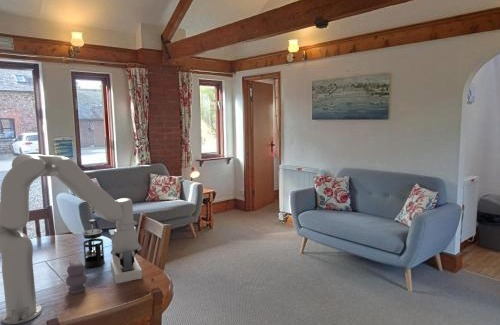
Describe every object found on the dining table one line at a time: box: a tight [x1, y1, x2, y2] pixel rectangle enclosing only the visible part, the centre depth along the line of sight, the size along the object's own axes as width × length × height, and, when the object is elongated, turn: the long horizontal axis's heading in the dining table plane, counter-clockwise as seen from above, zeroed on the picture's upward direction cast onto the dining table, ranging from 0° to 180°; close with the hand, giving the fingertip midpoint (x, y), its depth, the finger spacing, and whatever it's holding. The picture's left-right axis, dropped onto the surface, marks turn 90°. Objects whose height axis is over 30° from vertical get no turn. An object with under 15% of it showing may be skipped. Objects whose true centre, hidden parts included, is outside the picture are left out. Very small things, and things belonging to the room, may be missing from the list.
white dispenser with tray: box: [108, 228, 143, 284], centre depth 170 cm, size 19×11×19 cm, turn 27°
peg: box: [123, 251, 132, 272], centre depth 165 cm, size 3×3×12 cm
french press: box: [82, 218, 106, 270], centre depth 178 cm, size 12×9×23 cm
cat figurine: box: [65, 260, 88, 295], centre depth 154 cm, size 8×8×12 cm
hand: (127, 264), depth 165 cm, fingers closed on peg, 3 cm apart
